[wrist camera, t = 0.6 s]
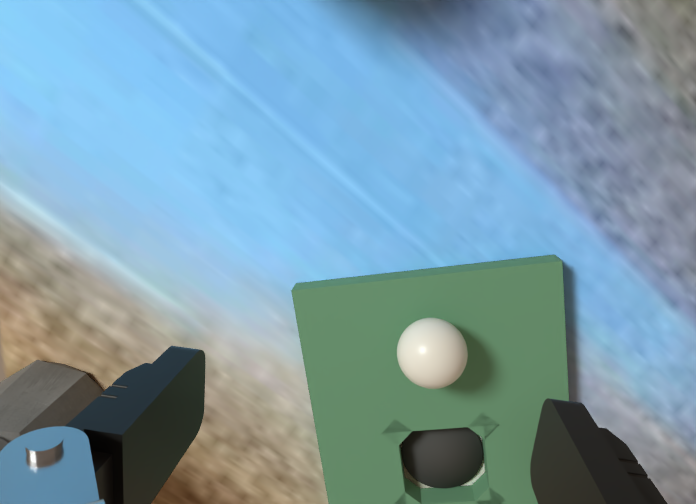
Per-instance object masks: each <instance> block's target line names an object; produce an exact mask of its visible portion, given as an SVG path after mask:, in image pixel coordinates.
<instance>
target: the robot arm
mask: <svg viewBox="0 0 696 504" xmlns="http://www.w3.org/2000/svg"><path fill="white" fill-rule="evenodd" d="M204 393H205V354H204V352H203V350H198V349H191V348H184V347H176V346H171V347H169V348H168V349H167V350H166V351H165V352H164V353H163V354H162V355H161V356H160V357H159V358H158V359H157V360H156V361H154V362H153V363H152V364H149V363H144V364H142V365H140V366H138V367H136V368H133V369H131V370H129V371H127V372H125V373H124V374H123V375H122V376H121V377H120V378H118V379H117V380H116V381H115V382H114V383H113V384H112V387H111V386H109V387H108V388H107V389H106V390H105V391H104V392H103V393H102V394H101V396H100V397H99V396H98V397H97V398H96V399H95V400H94V401H93V402H91V403H90V404H89V405H88V406H87V407H86V408H85V409H84V410H82V411H81V412H80V413H79V414H78V415H77V416H76V417H75V418H73V419H72V420H71V421H70V422H69V423H68V424H67V425H66V426H56V427H47V428H42V429H38V430H34V431H31V432H28V433H26V434H24V435H21V436H19V437H18V438H16V439H14V440H13V441H11V442H10V443H8V444H7V445H6V446H5V447H4V448H3V449H2V450H1V452H0V504H151V503H152V501H153V500H154V498H155V497H156V495H157V494H158V492H159V491H160V489H161V488H162V486H163V485H164V483H165V482H166V480H167V479H168V477H169V476H170V474H171V473H172V471H173V470H174V468H175V467H176V465H177V464H178V462H179V461H180V459H181V458H182V456H183V455H184V453H185V452H186V450H187V449H188V447H189V446H190V444H191V443H192V441H193V440H194V438H195V437H196V435H197V433H198V431H199V429H200V426H201V423H202V419H203V414H204ZM530 476H531V484H532V488H533V491H534V493H535V496H536V499H537V502H538V504H667V502H666V501H665V500H664V498H663V497H662V495H661V494H660V492H659V491H658V489H657V488H656V487H655V485H654V484H653V482H652V481H651V479H649V478H647V474H646V472H645V471H644V469H643V468H642V466H641V465H640V464H638V461H637V459H636V458H635V456H634V455H633V454H632V452H631V451H630V449H629V448H628V446H627V445H626V444H625V443H624V442H623V441H621V440H620V439H619V438H618V437H616V436H615V435H614V434H612V433H611V432H610V431H609V430H607V429H605V428H598V426H597V425H596V423H595V422H594V420H593V418H592V417H591V415H590V414H589V412H588V411H587V409H586V408H585V406H584V405H583V404H582V403H578V402H571V401H564V400H557V399H549V398H547V399H546V400H545V401H544V403H543V406H542V409H541V414H540V419H539V423H538V428H537V433H536V437H535V442H534V447H533V451H532V456H531V463H530Z"/></svg>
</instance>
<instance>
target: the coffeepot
mask: <svg viewBox="0 0 696 504" xmlns="http://www.w3.org/2000/svg"><path fill="white" fill-rule="evenodd" d="M103 392H104V391H103V390H102V389H101V387H100V386H99V385H98V384H97V383H96V382H95V381H94V380H92V379H91V378H90V377H89V376H88V375H87V373H85V372H83V371H80V370H78V369H76V368H73V367H70V366H67V365H65V364H59V363H54V362H44V361H40V360H36V361H35V362H33V363H31V364H30V365H28V366H26V367H25V368H23V369H21V370H20V371H18V372H16V373H15V374H13V375H11V376H10V377H8V378H7V379H5V380H3V381H2V382H0V452H1V450H2V449H3V448H4V447H5V446H6V445H7V444H8V443H10V442H11V441H13V440H14V439H16V438H18V437H19V436H21V435H24V434H26V433H28V432H31V431H34V430H38V429H42V428H47V427H56V426H66V425H67V424H68V423H69V422H70V421H71V420H72V419H73V418H75V417H76V416H77V415H78V414H79V413H80V412H81V411H82V410H84V409H85V408H86V407H87V406H88V405H89V404H90V403H91V402H93V401H94V400H95V399H96V398H97V397H98V396H99V397H100V396H101V394H102V393H103Z"/></svg>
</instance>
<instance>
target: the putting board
mask: <svg viewBox="0 0 696 504" xmlns="http://www.w3.org/2000/svg"><path fill="white" fill-rule="evenodd" d="M292 297H293V302H294V308H295V314H296V319H297V325H298V331H299V337H300V342H301V348H302V354H303V359H304V365H305V371H306V376H307V382H308V388H309V394H310V399H311V405H312V411H313V416H314V422H315V428H316V434H317V439H318V445H319V451H320V456H321V462H322V468H323V473H324V479H325V485H326V491H327V496H328V502H329V504H538V502H537V499H536V496H535V493H534V491H533V488H532V484H531V476H530V463H531V456H532V451H533V447H534V442H535V437H536V433H537V428H538V423H539V419H540V414H541V409H542V406H543V403H544V401H545V400H546V399H547V398H549V399H557V400H564V401H569V392H568V371H567V350H566V329H565V308H564V286H563V265H562V260H560V259H559V258H558V257H557V256H556V255H547V256H538V257H529V258H520V259H511V260H502V261H493V262H484V263H475V264H466V265H457V266H448V267H439V268H430V269H421V270H412V271H403V272H394V273H385V274H376V275H367V276H358V277H349V278H340V279H331V280H322V281H313V282H304V283H296V284H295V286H294V287H293V289H292ZM424 318H438V319H442V320H445V321H447V322H449V323H451V324H452V325H453V326H455V327H456V328H457V329H458V330H459V331H460V333H461V334H462V336H463V338H464V340H465V342H466V345H467V351H468V357H467V363H466V367H465V369H464V371H463V373H462V374H461V376H460V377H459V378H458V379H457V380H456V381H455V382H453V383H452V384H450V385H448V386H446V387H443V388H438V389H428V388H424V387H421V386H418V385H416V384H415V383H413V382H412V381H410V380H409V379H408V378H407V377H406V376H405V374H404V373H403V372H402V370H401V368H400V366H399V363H398V358H397V346H398V342H399V339H400V337H401V335H402V333H403V332H404V330H405V329H406V328H407V327H408V326H409V325H411V324H412V323H414V322H415V321H418V320H420V319H424ZM477 434H478V435H479V436H481V437H482V442H483V449H482V444H481V441H480V439H479V437H478V435H477ZM403 441H404V442H403ZM402 442H403V446H402V454H401V447H400V444H401V443H402ZM483 453H484V464H485V473H484V474H483V475H482V476H481V477H480V478H479V479H478V480H477V481H476V482H475V483H474V484H473V485H471V486H459V485H462V484H464V483H466V482H467V481H469V480H470V479H471V478H472V477H474V475H475V474H476V473H477V472H478V470H479V468H480V466H481V463H482V460H483ZM402 457H403V462H404V464H405V467H406V469H407V470H408V472H409V473H410V474H411V475H412V476H413V477H414V478H415V479H416V480H418V481H419V482H421V483H423V484H425V485H427V486H430V487H434V488H421V489H420V488H419V487H418V486H416V485H415V484H413V483H412V482H411V481H409V480H408V479H406V478H405V477H404V469H403V462H402Z"/></svg>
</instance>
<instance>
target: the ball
mask: <svg viewBox="0 0 696 504" xmlns="http://www.w3.org/2000/svg"><path fill="white" fill-rule="evenodd" d="M467 357H468V351H467V345H466V342H465V340H464V338H463V336H462V334H461V333H460V331H459V330H458V329H457V328H456V327H455V326H453V325H452V324H451V323H449V322H447V321H445V320H442V319H438V318H424V319H420V320H418V321H415V322H414V323H412V324H411V325H409V326H408V327H407V328H406V329H405V330H404V332H403V333H402V335H401V337H400V339H399V342H398V346H397V358H398V363H399V366H400V368H401V370H402V372H403V373H404V374H405V376H406V377H407V378H408V379H409V380H410V381H412V382H413V383H415V384H416V385H418V386H421V387H424V388H428V389H438V388H443V387H446V386H448V385H450V384H452V383H453V382H455V381H456V380H457V379H458V378H459V377H460V376H461V374H462V373H463V371H464V369H465V367H466V363H467Z"/></svg>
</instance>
